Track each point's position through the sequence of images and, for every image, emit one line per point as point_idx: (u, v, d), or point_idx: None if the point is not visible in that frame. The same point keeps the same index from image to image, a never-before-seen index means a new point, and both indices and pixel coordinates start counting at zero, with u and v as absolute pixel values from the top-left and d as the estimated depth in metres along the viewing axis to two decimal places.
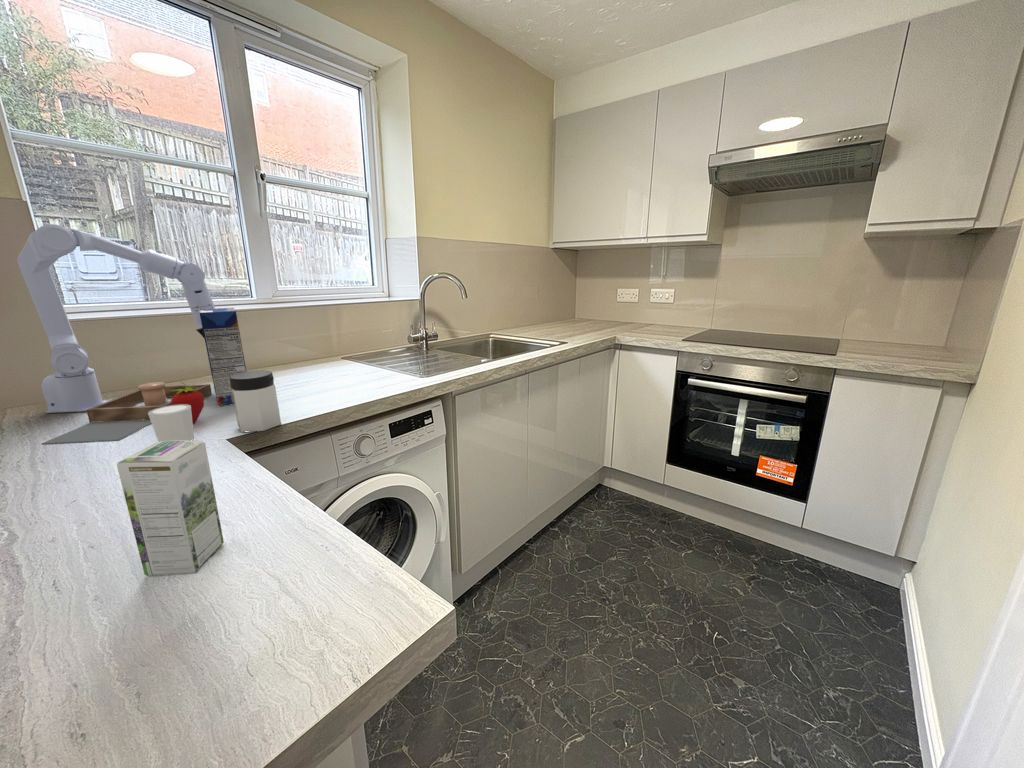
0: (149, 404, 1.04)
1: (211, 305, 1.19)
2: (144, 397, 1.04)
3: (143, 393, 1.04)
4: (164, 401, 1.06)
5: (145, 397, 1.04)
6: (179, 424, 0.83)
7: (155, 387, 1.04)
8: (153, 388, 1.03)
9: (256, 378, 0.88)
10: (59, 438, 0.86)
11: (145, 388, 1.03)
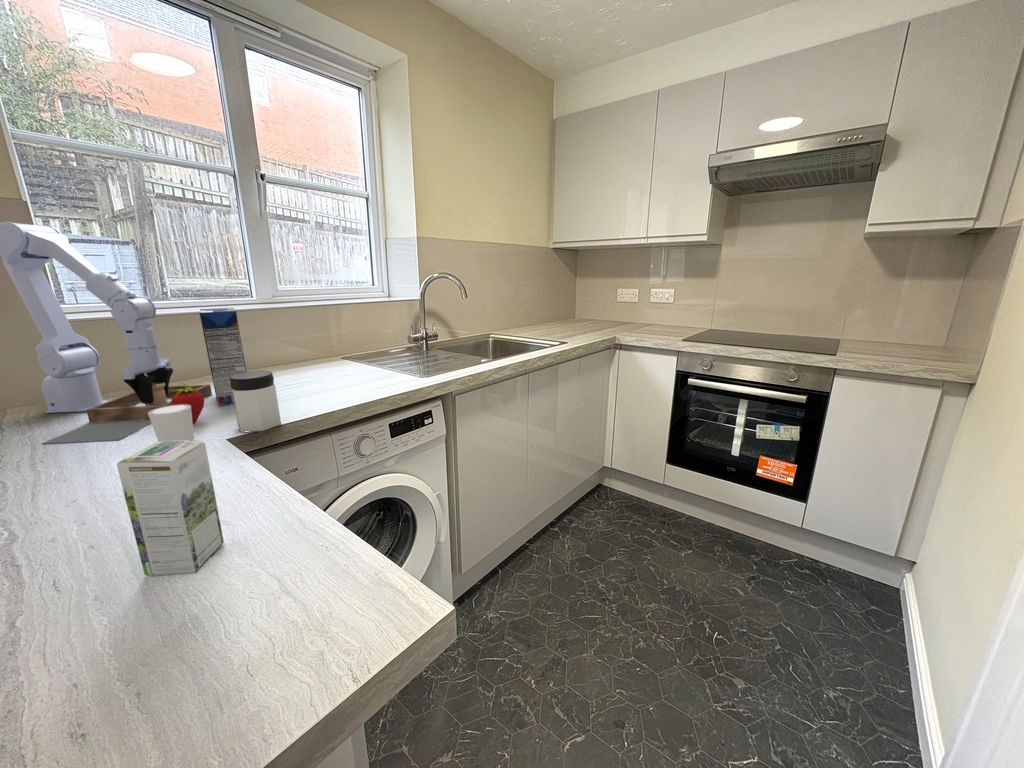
0: (149, 404, 1.04)
1: (145, 348, 1.01)
2: None
3: None
4: (164, 401, 1.06)
5: None
6: (179, 424, 0.83)
7: (155, 387, 1.04)
8: (153, 388, 1.03)
9: (256, 378, 0.88)
10: (59, 438, 0.86)
11: None
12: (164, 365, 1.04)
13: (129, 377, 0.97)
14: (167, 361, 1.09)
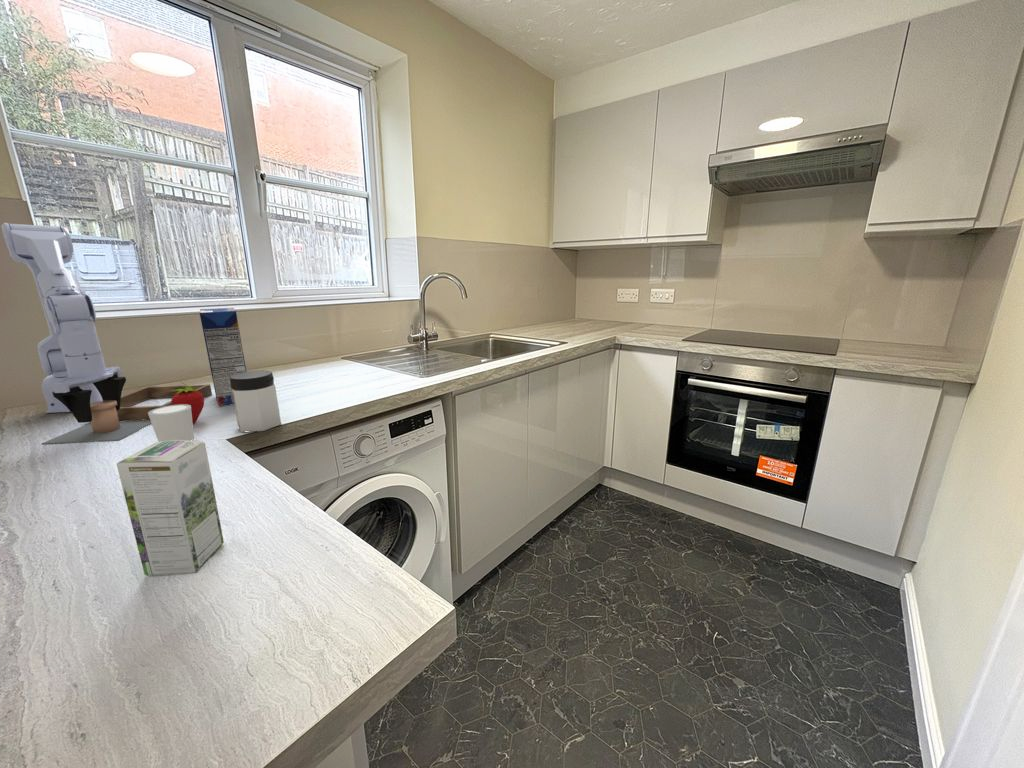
0: (96, 427, 0.88)
1: (84, 355, 0.84)
2: None
3: None
4: (115, 423, 0.91)
5: (92, 419, 0.88)
6: (179, 424, 0.83)
7: (103, 407, 0.88)
8: (101, 408, 0.88)
9: (256, 378, 0.88)
10: (59, 438, 0.86)
11: (91, 408, 0.87)
12: (109, 375, 0.87)
13: (62, 390, 0.81)
14: (116, 370, 0.93)
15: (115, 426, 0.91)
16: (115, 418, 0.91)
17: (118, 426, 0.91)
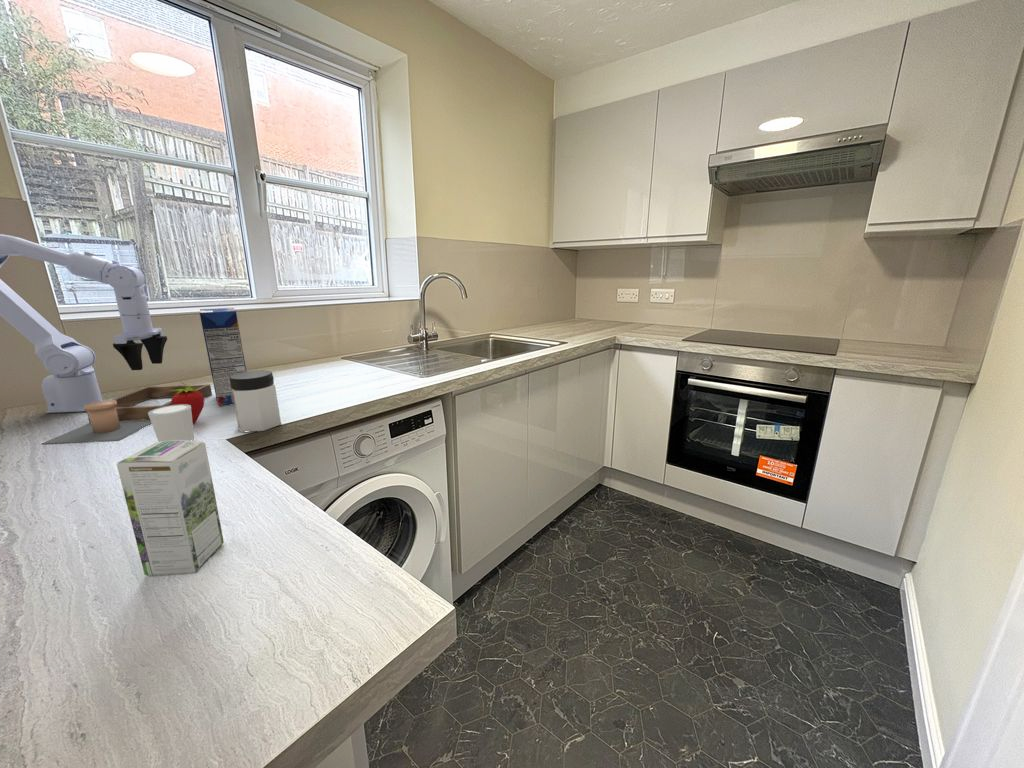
0: (96, 427, 0.88)
1: (137, 315, 1.04)
2: (90, 418, 0.88)
3: (89, 414, 0.88)
4: (115, 423, 0.91)
5: (92, 419, 0.88)
6: (179, 424, 0.83)
7: (103, 407, 0.88)
8: (101, 408, 0.88)
9: (256, 378, 0.88)
10: (59, 438, 0.86)
11: (91, 408, 0.87)
12: (156, 332, 1.07)
13: (121, 342, 1.00)
14: (159, 330, 1.13)
15: (115, 426, 0.91)
16: (115, 418, 0.91)
17: (118, 426, 0.91)
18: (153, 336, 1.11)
